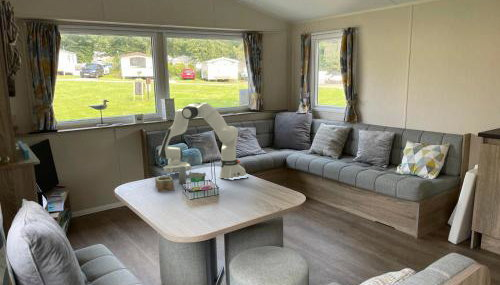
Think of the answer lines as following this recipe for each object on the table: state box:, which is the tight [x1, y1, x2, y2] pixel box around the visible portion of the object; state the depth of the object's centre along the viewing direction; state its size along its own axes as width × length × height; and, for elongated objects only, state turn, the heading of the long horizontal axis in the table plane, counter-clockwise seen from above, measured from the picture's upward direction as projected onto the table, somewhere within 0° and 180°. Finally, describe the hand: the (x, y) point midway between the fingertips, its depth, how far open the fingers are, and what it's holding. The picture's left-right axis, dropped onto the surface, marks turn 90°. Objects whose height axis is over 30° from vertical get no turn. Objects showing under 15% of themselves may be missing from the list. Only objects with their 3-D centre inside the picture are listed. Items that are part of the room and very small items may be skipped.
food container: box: [188, 170, 207, 183], centre depth 257 cm, size 12×6×10 cm, turn 73°
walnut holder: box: [154, 175, 175, 192], centre depth 254 cm, size 10×14×6 cm
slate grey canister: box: [178, 166, 187, 185], centre depth 265 cm, size 5×5×12 cm
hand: (179, 170), depth 276 cm, fingers open, 8 cm apart
